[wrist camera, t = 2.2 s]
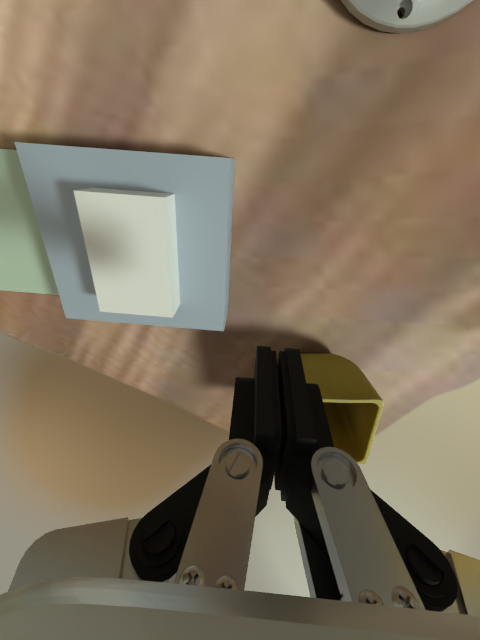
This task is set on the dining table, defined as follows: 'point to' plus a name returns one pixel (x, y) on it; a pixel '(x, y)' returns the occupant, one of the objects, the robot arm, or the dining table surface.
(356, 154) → the dining table surface
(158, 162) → the plate
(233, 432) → the robot arm
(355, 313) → the dining table surface
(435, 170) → the dining table surface
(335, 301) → the dining table surface
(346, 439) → the flower pot
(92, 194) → the white rectangular block
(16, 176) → the mat
